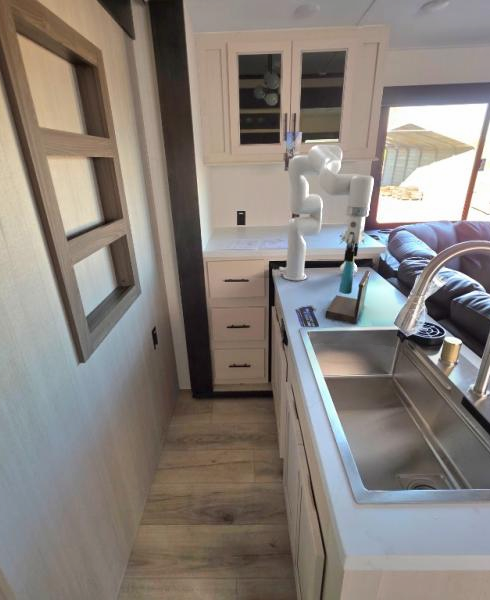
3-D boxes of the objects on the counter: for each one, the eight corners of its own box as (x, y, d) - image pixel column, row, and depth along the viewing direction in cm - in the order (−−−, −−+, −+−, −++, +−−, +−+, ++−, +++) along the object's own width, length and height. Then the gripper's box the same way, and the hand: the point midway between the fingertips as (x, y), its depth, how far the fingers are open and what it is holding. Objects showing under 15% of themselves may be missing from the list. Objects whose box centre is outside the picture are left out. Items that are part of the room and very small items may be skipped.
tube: (351, 296, 124) (359, 248, 116) (338, 294, 125) (345, 247, 117) (351, 289, 130) (358, 243, 122) (339, 288, 132) (345, 242, 124)
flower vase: (353, 269, 182) (359, 225, 172) (364, 280, 165) (372, 232, 155) (330, 269, 183) (336, 225, 172) (339, 280, 166) (345, 232, 156)
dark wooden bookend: (325, 317, 126) (329, 279, 120) (335, 301, 141) (340, 266, 134) (356, 324, 121) (363, 285, 114) (364, 306, 135) (370, 271, 129)
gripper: (364, 215, 106) (356, 265, 113) (371, 209, 120) (364, 254, 127) (341, 214, 109) (335, 262, 116) (351, 208, 123) (345, 252, 130)
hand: (350, 258), depth 122 cm, fingers closed on tube, 7 cm apart
